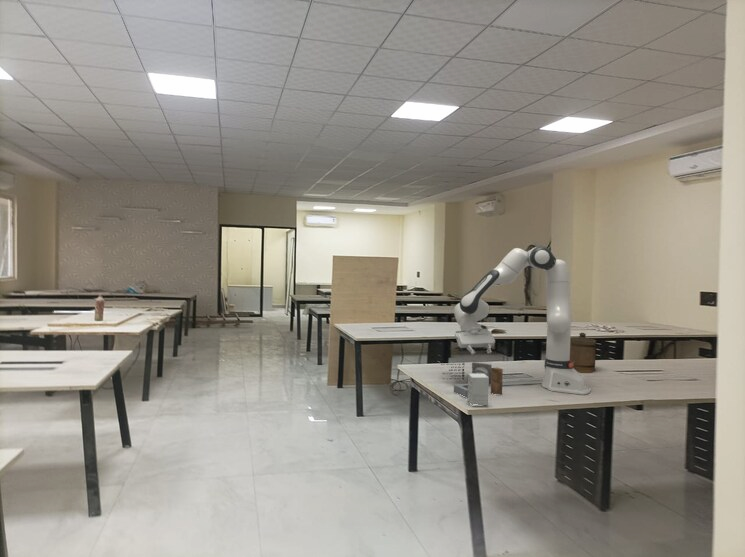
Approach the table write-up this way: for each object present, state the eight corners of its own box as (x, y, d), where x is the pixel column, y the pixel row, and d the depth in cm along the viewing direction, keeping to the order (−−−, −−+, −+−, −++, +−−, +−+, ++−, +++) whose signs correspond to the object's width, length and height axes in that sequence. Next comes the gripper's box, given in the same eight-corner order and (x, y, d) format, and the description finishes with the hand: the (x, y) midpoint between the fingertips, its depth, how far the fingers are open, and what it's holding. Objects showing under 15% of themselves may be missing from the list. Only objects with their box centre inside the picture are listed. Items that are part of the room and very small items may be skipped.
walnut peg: (497, 392, 226) (497, 367, 226) (501, 394, 223) (502, 369, 223) (490, 393, 225) (491, 367, 225) (495, 395, 222) (496, 369, 221)
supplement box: (483, 401, 211) (484, 373, 211) (488, 406, 204) (489, 377, 203) (467, 401, 211) (467, 372, 210) (471, 406, 203) (472, 377, 203)
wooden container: (598, 370, 280) (600, 333, 279) (589, 374, 269) (591, 335, 268) (572, 366, 290) (574, 330, 289) (563, 369, 279) (564, 332, 279)
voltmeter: (487, 380, 250) (488, 361, 250) (496, 386, 239) (497, 366, 238) (438, 380, 246) (439, 361, 246) (445, 386, 235) (445, 366, 235)
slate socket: (471, 390, 229) (471, 383, 229) (484, 396, 220) (484, 388, 219) (453, 392, 225) (454, 384, 225) (465, 398, 216) (466, 390, 215)
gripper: (456, 327, 237) (466, 350, 229) (490, 326, 245) (501, 348, 237) (451, 335, 241) (461, 358, 233) (484, 333, 249) (495, 355, 241)
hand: (481, 353), depth 235 cm, fingers open, 8 cm apart
